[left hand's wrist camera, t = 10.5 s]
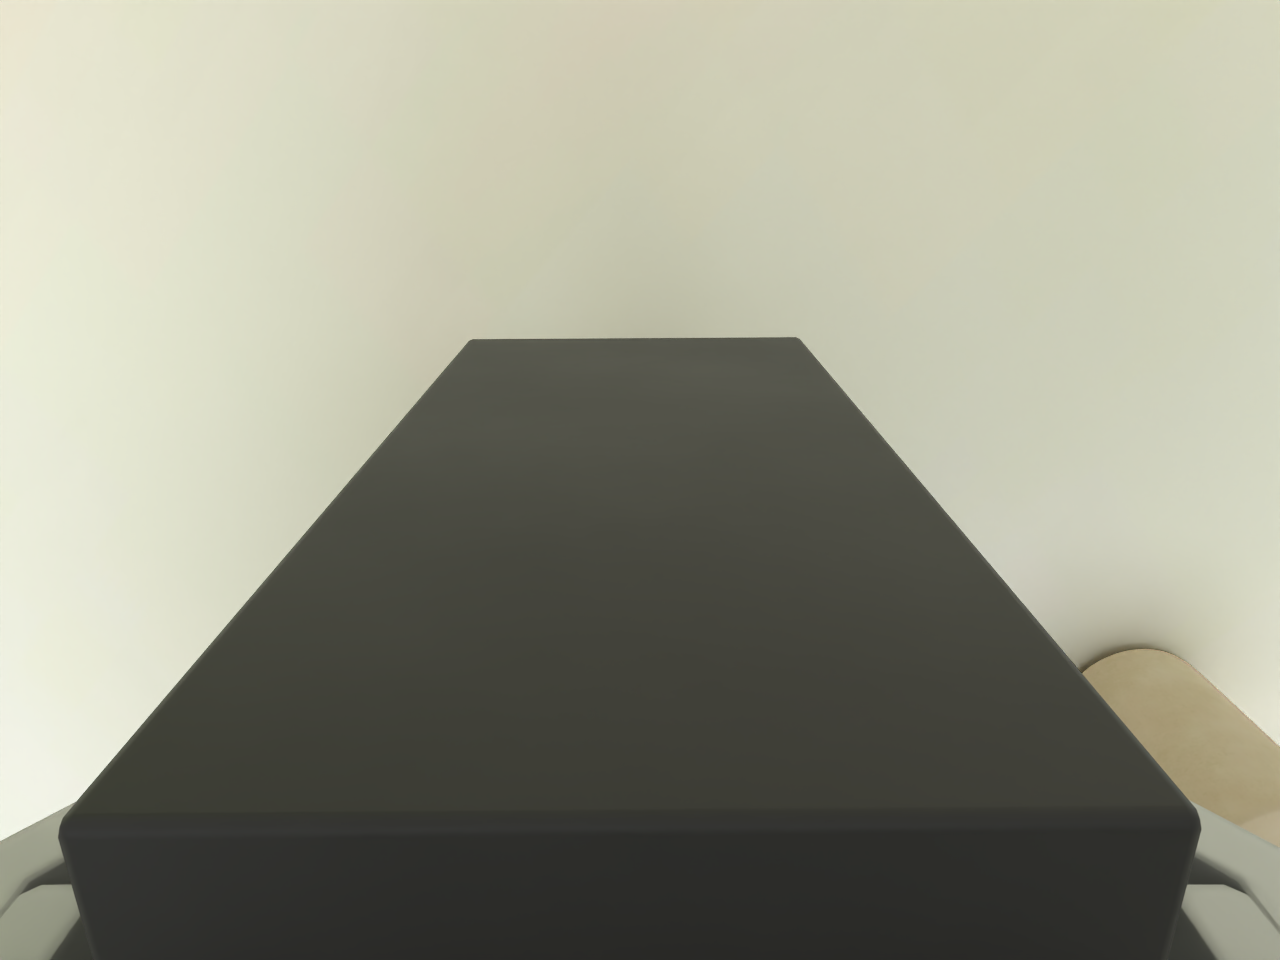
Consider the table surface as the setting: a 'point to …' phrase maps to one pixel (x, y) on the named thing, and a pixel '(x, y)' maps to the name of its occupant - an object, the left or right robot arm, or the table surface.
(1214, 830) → the left robot arm
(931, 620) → the box
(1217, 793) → the candle
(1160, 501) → the table surface
